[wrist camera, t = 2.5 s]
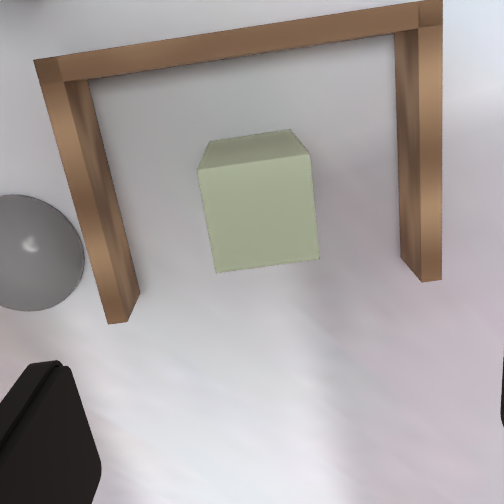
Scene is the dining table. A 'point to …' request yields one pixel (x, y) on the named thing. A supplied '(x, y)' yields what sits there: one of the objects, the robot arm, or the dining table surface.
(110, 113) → the dining table surface
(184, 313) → the dining table surface
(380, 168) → the dining table surface
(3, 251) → the slate coaster
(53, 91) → the wooden u-shaped frame
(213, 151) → the sage block
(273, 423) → the dining table surface
